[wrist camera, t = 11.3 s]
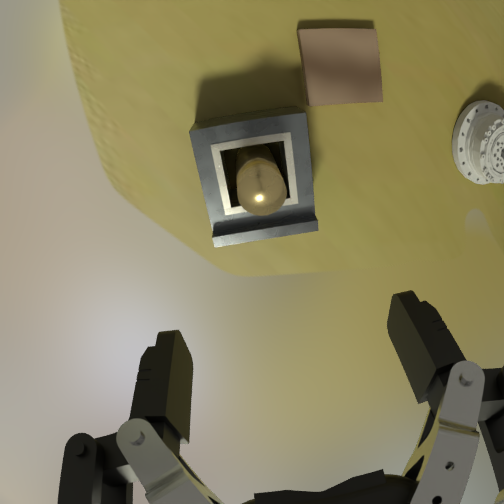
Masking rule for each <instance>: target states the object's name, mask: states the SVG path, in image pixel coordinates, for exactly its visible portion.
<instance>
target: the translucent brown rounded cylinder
mask: <svg viewBox="0 0 504 504" xmlns="http://www.w3.org/2000/svg"><path fill="white" fill-rule="evenodd" d="M236 176H237V195H238V200H239V203H240V205H241V206H242V207H243V209H245V210H246V211H247V212H249V213H251V214H253V215H258V216H265V215H269V214H272V213H274V212H276V211H277V210H278V209H280V208H281V206H282V205H283V204H284V202H285V199H286V196H287V189H286V185H285V183H284V180H283V178H282V176H281V174H280V171H279V169H278V167H277V164H276V162H275V160H274V158H273V155H272V153H271V151H270V150H269V149H268V148H267V147H266V146H265V145H263V144H257V145H251V146H245V147H242V148H241V149H240V150H239V151H238V153H237V156H236Z"/></svg>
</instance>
